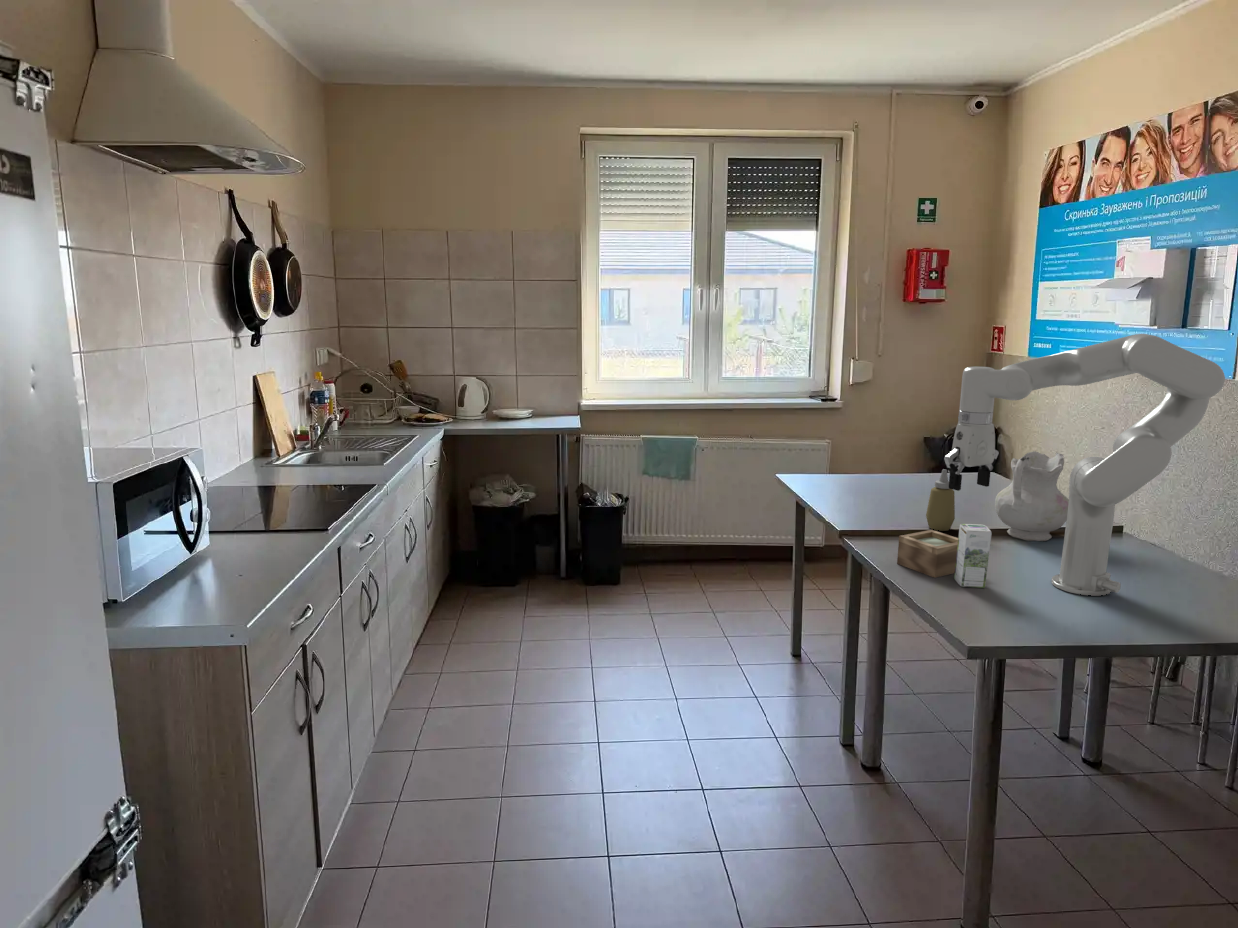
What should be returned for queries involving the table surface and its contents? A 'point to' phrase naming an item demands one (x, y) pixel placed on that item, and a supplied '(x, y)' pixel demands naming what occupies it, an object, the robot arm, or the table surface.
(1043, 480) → the ceramic pitcher
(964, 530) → the syrup box
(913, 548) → the wooden box
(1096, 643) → the table surface
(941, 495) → the squeeze bottle
